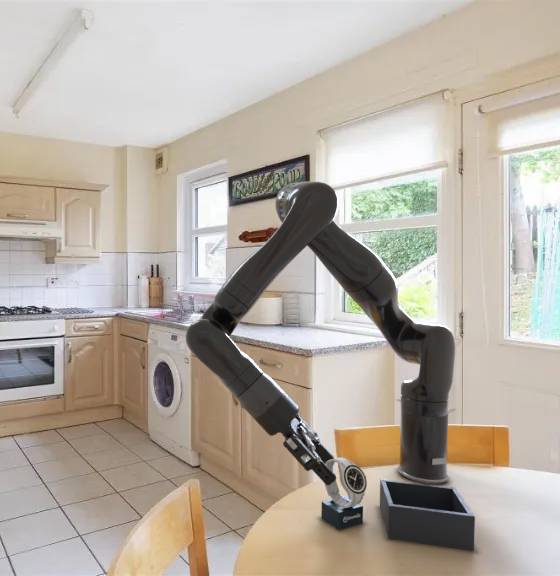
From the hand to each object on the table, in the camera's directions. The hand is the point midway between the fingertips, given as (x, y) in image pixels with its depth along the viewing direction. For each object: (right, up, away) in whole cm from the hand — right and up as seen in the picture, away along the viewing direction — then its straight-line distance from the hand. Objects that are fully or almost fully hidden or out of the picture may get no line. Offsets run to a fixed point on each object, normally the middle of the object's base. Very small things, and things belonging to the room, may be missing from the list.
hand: (331, 471), depth 85 cm
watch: (+2, -9, 0) cm, 9 cm away
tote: (+15, -9, -2) cm, 18 cm away
